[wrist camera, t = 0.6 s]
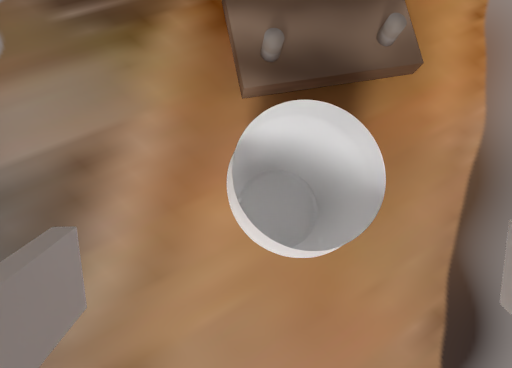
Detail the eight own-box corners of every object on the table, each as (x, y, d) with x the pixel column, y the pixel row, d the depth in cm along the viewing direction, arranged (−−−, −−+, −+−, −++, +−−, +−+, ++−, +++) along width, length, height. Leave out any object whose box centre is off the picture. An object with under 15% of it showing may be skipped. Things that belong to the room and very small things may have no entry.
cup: (204, 180, 36) (202, 129, 24) (302, 140, 37) (345, 75, 26) (249, 283, 34) (270, 283, 22) (349, 237, 36) (416, 214, 24)
